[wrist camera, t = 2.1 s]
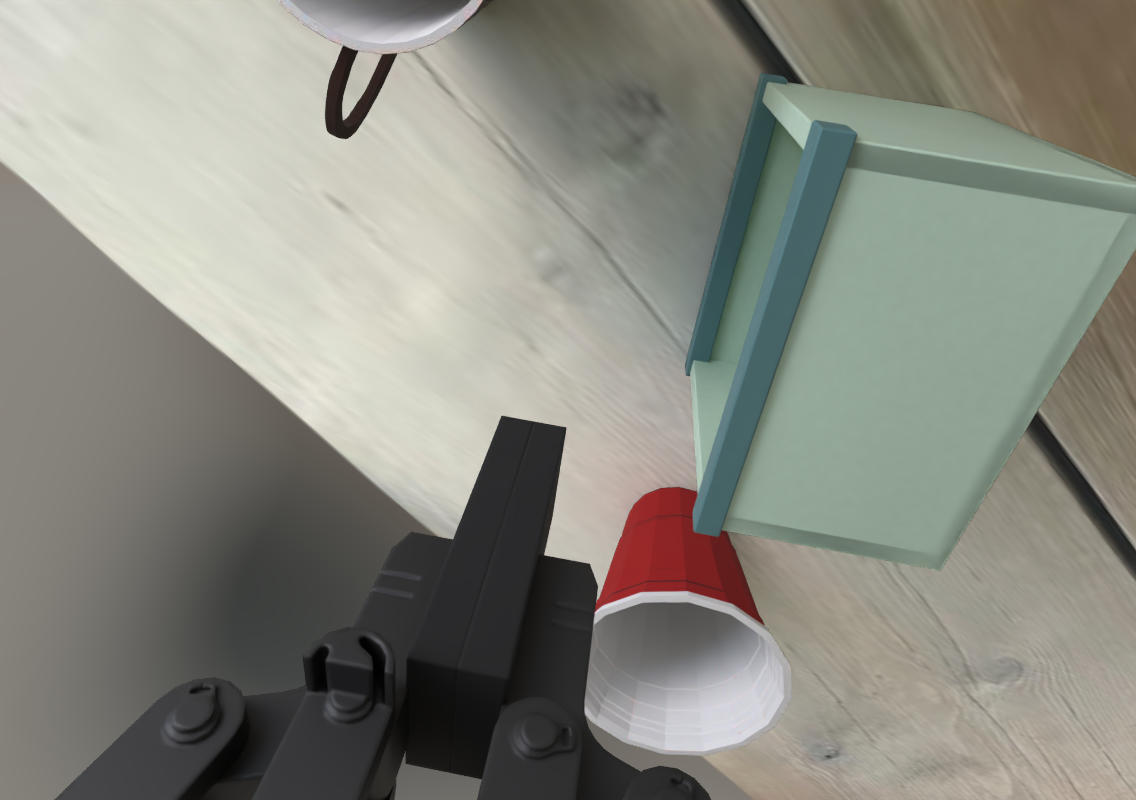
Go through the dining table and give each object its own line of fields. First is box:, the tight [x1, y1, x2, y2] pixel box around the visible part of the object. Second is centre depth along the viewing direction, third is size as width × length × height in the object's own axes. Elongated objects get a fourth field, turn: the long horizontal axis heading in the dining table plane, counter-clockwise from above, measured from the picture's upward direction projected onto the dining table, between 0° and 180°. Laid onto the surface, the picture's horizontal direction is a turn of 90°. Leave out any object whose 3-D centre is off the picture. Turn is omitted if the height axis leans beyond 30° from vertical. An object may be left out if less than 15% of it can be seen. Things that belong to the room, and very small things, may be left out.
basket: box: [685, 73, 1136, 571], centre depth 27 cm, size 14×9×13 cm, turn 173°
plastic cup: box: [585, 487, 792, 755], centre depth 37 cm, size 11×11×12 cm
